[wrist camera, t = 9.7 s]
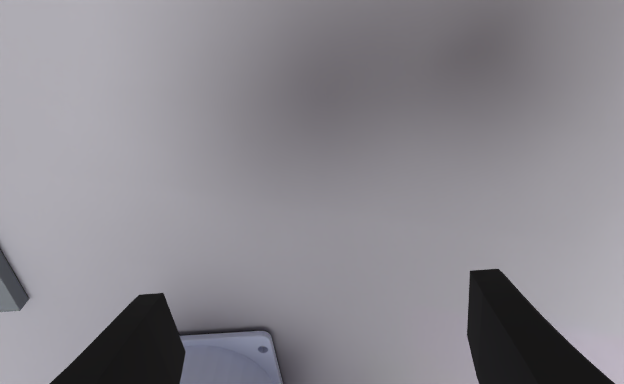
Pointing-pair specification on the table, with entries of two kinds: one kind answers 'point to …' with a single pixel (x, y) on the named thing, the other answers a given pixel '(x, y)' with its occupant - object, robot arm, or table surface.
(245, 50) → the table surface
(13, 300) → the slate mat
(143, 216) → the table surface
